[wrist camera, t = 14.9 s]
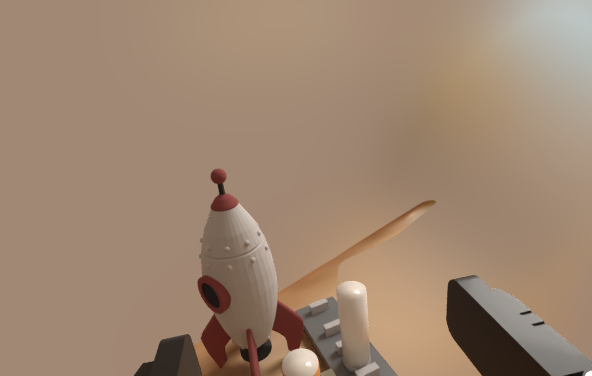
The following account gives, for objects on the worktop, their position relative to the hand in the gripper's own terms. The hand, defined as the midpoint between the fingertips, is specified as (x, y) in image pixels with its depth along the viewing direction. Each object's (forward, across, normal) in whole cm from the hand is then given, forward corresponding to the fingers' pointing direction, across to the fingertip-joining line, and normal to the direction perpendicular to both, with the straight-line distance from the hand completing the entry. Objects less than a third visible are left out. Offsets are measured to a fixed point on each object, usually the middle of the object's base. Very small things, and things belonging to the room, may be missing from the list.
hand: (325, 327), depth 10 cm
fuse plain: (+25, -7, +31) cm, 41 cm away
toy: (+30, +6, +33) cm, 45 cm away
